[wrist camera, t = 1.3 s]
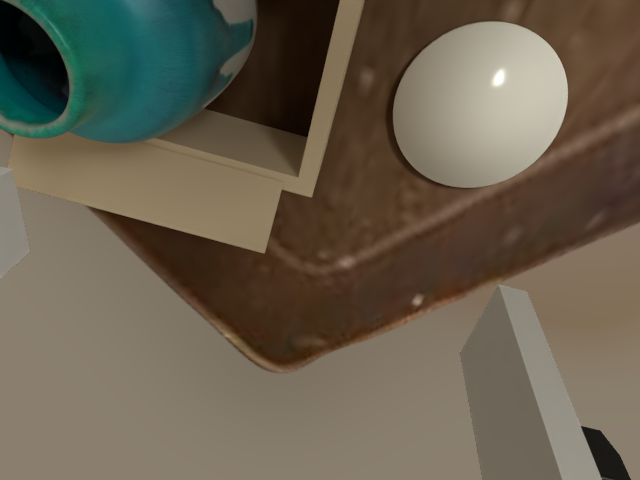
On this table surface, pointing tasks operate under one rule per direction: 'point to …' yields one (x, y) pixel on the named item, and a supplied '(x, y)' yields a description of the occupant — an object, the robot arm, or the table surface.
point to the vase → (117, 64)
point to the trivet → (479, 104)
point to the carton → (196, 163)
